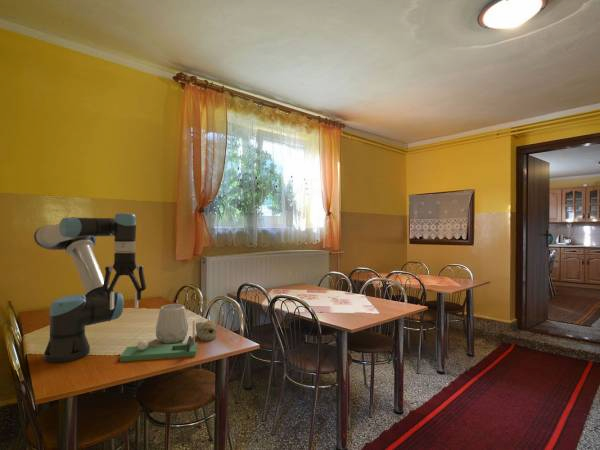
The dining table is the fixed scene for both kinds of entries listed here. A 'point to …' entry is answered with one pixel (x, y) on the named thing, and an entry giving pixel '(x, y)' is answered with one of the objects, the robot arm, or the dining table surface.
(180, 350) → the green
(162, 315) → the vase
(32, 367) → the dining table surface
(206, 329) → the seashell
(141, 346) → the ball
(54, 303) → the robot arm
